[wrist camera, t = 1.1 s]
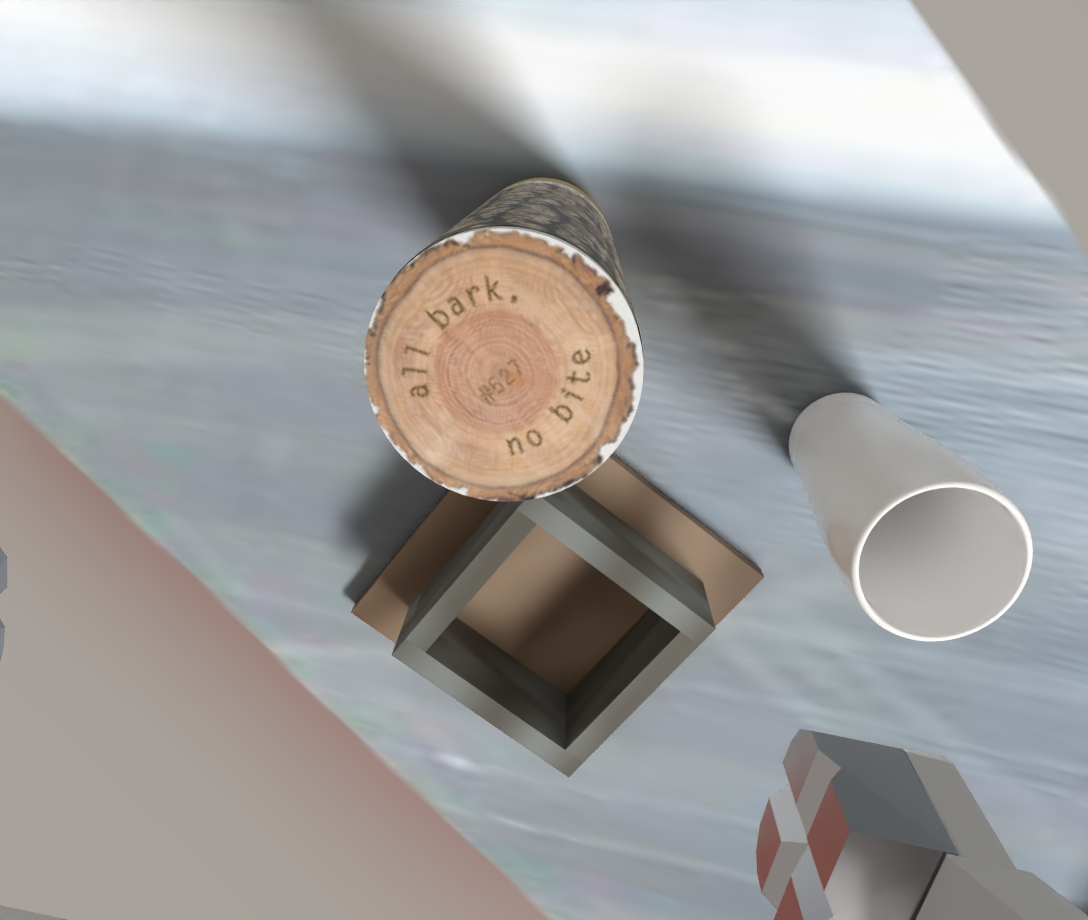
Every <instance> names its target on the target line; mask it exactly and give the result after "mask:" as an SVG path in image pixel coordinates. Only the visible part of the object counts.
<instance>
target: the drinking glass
mask: <svg viewBox="0 0 1088 920" xmlns="http://www.w3.org/2000/svg"><path fill="white" fill-rule="evenodd" d="M789 454H790V459H791V462H792V464H793V467H794V469H795V470H796V472H797V474H798V475H799V477H800V479H801V482H802V484H803V487H804V489H805V492H806V495H807V497H808V500H809V503H810V505H811V508H812V511H813V514H814V516H815V519H816V522H817V525H818V528H819V530H820V533H821V536H822V538H823V541H824V543H825V546H826V548H827V551H828V553H829V555H830V557H831V559H832V561H833V563H834V565H835V567H836V569H837V570H838V572H839V574H840V576H841V577H842V579H843V581H844V582H845V584H846V585H847V587H848V588H849V590H850V591H851V593H852V594H853V596H854V597H855V598H856V600H857V601H858V602H859V604H860V605H861V607H862V608H863V610H864V611H865V612H866V613H867V615H868V616H869V617H870V618H871V619H872V620H873V621H875V622H876V623H877V624H878V625H880V626H881V627H883V628H884V629H886V630H888V631H889V632H892V633H894V634H896V635H899V636H902V637H905V638H909V639H913V640H919V641H944V640H950V639H955V638H959V637H963V636H966V635H968V634H971V633H974V632H976V631H978V630H980V629H982V628H984V627H985V626H987V625H989V624H990V623H992V622H993V621H995V620H996V619H997V618H998V617H1000V616H1001V615H1002V614H1003V613H1004V612H1005V611H1006V610H1007V609H1008V608H1009V607H1010V606H1011V605H1012V604H1013V603H1014V601H1015V600H1016V599H1017V597H1018V596H1019V594H1020V593H1021V591H1022V589H1023V587H1024V585H1025V583H1026V581H1027V578H1028V576H1029V573H1030V569H1031V564H1032V557H1033V547H1032V539H1031V534H1030V531H1029V528H1028V525H1027V523H1026V521H1025V519H1024V517H1023V515H1022V514H1021V512H1020V511H1019V509H1018V508H1017V507H1016V506H1015V504H1014V503H1013V502H1012V501H1011V500H1009V499H1008V497H1007V496H1006V495H1005V494H1004V493H1003V492H1002V491H1001V490H1000V489H999V488H998V487H997V486H996V485H995V484H994V483H993V482H992V481H991V480H990V479H989V478H987V477H986V476H985V475H984V474H983V473H982V472H981V471H979V470H978V469H977V468H976V467H975V466H973V465H972V464H971V463H969V462H968V461H967V460H965V459H964V458H963V457H961V456H960V455H958V454H957V453H955V452H954V451H952V450H950V449H949V448H947V447H946V446H944V445H942V444H941V443H939V442H937V441H936V440H934V439H932V438H930V437H929V436H927V435H925V434H924V433H922V432H920V431H919V430H917V429H915V428H914V427H912V426H910V425H908V424H907V423H905V422H903V421H902V420H900V419H899V418H897V417H895V416H894V415H892V414H891V413H889V412H887V411H886V410H885V409H884V408H883V407H882V406H881V405H879V404H878V403H877V402H875V401H874V400H872V399H870V398H868V397H866V396H863V395H860V394H856V393H835V394H831V395H827V396H824V397H822V398H820V399H818V400H816V401H815V402H813V403H812V404H810V405H809V406H808V407H807V408H806V409H804V410H803V412H802V413H801V414H800V415H799V417H798V418H797V419H796V421H795V423H794V425H793V427H792V430H791V433H790V437H789Z"/></svg>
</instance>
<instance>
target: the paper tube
mask: <svg viewBox="0 0 1088 920" xmlns="http://www.w3.org/2000/svg"><path fill="white" fill-rule="evenodd" d="M364 371H365V380H366V387H367V391H368V396H369V399H370V402H371V405H372V408H373V411H374V414H375V416H376V418H377V420H378V423H379V425H380V426H381V428H382V430H383V431H384V433H385V435H386V437H387V438H388V439H389V441H390V442H391V444H392V445H393V446H394V448H395V449H396V450H397V451H398V452H399V453H400V454H401V456H402V457H403V458H404V459H405V460H406V461H407V462H408V463H410V464H411V465H412V466H413V467H414V468H415V469H416V470H418V471H419V472H420V473H422V474H423V475H424V476H426V477H427V478H429V479H431V480H432V481H434V482H435V483H437V484H439V485H441V486H443V487H445V488H447V489H449V490H452V491H454V492H457V493H460V494H462V495H466V496H469V497H473V498H477V499H483V500H489V501H502V502H509V501H524V500H532V499H536V498H540V497H545V496H548V495H551V494H554V493H557V492H560V491H562V490H564V489H566V488H568V487H571V486H572V485H574V484H576V483H578V482H579V481H581V480H583V479H584V478H586V477H587V476H588V475H590V474H591V473H592V472H594V471H595V470H596V469H597V468H598V467H599V466H601V465H602V464H603V463H604V462H605V461H606V460H607V459H608V458H609V456H610V455H611V454H612V453H613V452H614V451H615V449H616V448H617V447H618V445H619V444H620V443H621V441H622V440H623V438H624V436H625V434H626V433H627V431H628V429H629V427H630V425H631V423H632V421H633V418H634V416H635V413H636V410H637V407H638V404H639V400H640V395H641V390H642V383H643V349H642V341H641V336H640V332H639V328H638V324H637V321H636V317H635V314H634V310H633V307H632V304H631V300H630V297H629V293H628V290H627V286H626V283H625V280H624V276H623V273H622V269H621V266H620V263H619V259H618V256H617V252H616V249H615V245H614V242H613V239H612V235H611V232H610V230H609V227H608V224H607V221H606V219H605V217H604V215H603V213H602V212H601V210H600V208H599V207H598V206H597V204H596V203H595V202H594V201H593V200H592V199H591V198H590V197H589V196H588V195H587V194H586V193H585V192H583V191H582V190H580V189H579V188H577V187H576V186H574V185H572V184H570V183H567V182H565V181H561V180H558V179H553V178H531V179H526V180H522V181H519V182H516V183H514V184H512V185H510V186H508V187H506V188H505V189H503V190H502V191H500V192H499V193H498V194H496V195H495V196H493V197H491V198H490V199H489V200H487V201H486V202H485V203H484V204H482V205H481V206H480V207H478V208H477V209H476V210H474V211H473V212H472V213H470V214H469V215H468V216H467V217H465V218H464V219H463V220H461V221H460V222H459V223H457V224H456V225H455V226H453V227H452V228H451V229H450V230H448V231H447V232H446V233H444V234H443V235H442V236H440V237H439V238H438V239H436V240H435V241H434V242H433V243H431V244H430V245H429V246H427V247H426V248H425V249H423V250H422V251H421V252H420V253H418V254H417V255H416V256H415V257H414V258H412V259H411V260H410V261H409V262H408V263H407V264H406V265H405V266H404V267H403V268H402V269H401V270H400V271H399V272H398V274H397V275H396V276H395V278H394V279H393V280H392V281H391V283H390V284H389V286H388V287H387V288H386V290H385V292H384V293H383V295H382V297H381V298H380V300H379V302H378V304H377V306H376V309H375V311H374V313H373V316H372V319H371V322H370V325H369V328H368V333H367V337H366V343H365V353H364Z"/></svg>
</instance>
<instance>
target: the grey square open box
mask: <svg viewBox="0 0 1088 920" xmlns="http://www.w3.org/2000/svg"><path fill="white" fill-rule="evenodd" d="M763 578H764V576H763V573H762V571H761V569H760V568H759V567H757V566H756V565H755V564H754V563H752V562H751V561H750V560H748V559H747V558H746V557H745V556H743V555H742V554H741V553H739V552H738V551H737V550H736V549H734V548H733V547H732V546H730V545H729V544H728V543H727V542H725V541H724V540H723V539H721V538H720V537H719V536H718V535H716V534H715V533H714V532H712V531H711V530H710V529H709V528H707V527H706V526H705V525H703V524H702V523H701V522H700V521H698V520H697V519H696V518H694V517H693V516H692V515H691V514H689V513H688V512H687V511H685V510H684V509H683V508H682V507H680V506H679V505H678V504H676V503H675V502H674V501H673V500H671V499H670V498H669V497H667V496H666V495H665V494H664V493H662V492H661V491H660V490H658V489H657V488H656V487H655V486H653V485H652V484H651V483H649V482H648V481H647V480H646V479H644V478H643V477H642V476H640V475H639V474H638V473H637V472H635V471H634V470H633V469H631V468H630V467H629V466H628V465H626V464H625V463H624V462H622V461H621V460H620V459H619V458H617V457H616V456H615V455H613V454H611V455H610V456H609V458H608V459H607V460H606V461H605V462H604V463H603V464H602V465H601V466H599V467H598V468H597V469H596V470H595V471H594V472H592V473H591V474H590V475H588V476H587V477H586V478H584V479H583V480H581V481H579V482H578V483H576V484H574V485H572V486H571V487H568V488H566V489H564V490H562V491H560V492H557V493H554V494H551V495H548V496H545V497H540V498H536V499H532V500H524V501H509V502H502V501H489V500H483V499H477V498H473V497H469V496H466V495H462V494H460V493H457V492H454V491H452V490H448V492H447V493H446V494H445V495H444V496H443V498H442V499H441V500H440V501H439V502H438V504H437V505H436V506H435V507H434V509H433V510H432V511H431V512H430V513H429V515H428V516H427V517H426V518H425V519H424V521H423V522H422V523H421V524H420V526H419V527H418V528H417V529H416V530H415V532H414V533H413V534H412V535H411V537H410V538H409V539H408V540H407V541H406V543H405V544H404V545H403V546H402V547H401V549H400V550H399V551H398V552H397V554H396V555H395V556H394V557H393V558H392V560H391V561H390V562H389V563H388V564H387V566H386V567H385V568H384V569H383V571H382V572H381V573H380V574H379V575H378V577H377V578H376V579H375V580H374V581H373V583H372V584H371V585H370V586H369V588H368V589H367V590H366V591H365V592H364V594H363V595H362V596H361V597H360V599H359V600H358V601H357V602H356V603H355V605H354V607H353V609H352V611H351V613H353V614H354V615H356V616H357V617H358V618H360V619H361V620H363V621H364V622H366V623H367V624H369V625H370V626H371V627H373V628H374V629H376V630H377V631H379V632H380V633H382V634H383V635H384V636H386V637H387V638H389V639H390V640H392V641H393V642H394V643H396V645H395V647H394V650H393V653H392V656H394V657H395V658H397V659H398V660H400V661H401V662H402V663H404V664H405V665H407V666H408V667H410V668H411V669H413V670H414V671H415V672H417V673H418V674H420V675H421V676H423V677H424V678H426V679H427V680H428V681H430V682H431V683H433V684H434V685H436V686H437V687H439V688H440V689H442V690H443V691H444V692H446V693H447V694H449V695H450V696H452V697H453V698H455V699H456V700H457V701H459V702H460V703H462V704H463V705H465V706H466V707H468V708H469V709H470V710H472V711H473V712H475V713H476V714H478V715H479V716H481V717H482V718H483V719H485V720H486V721H488V722H489V723H491V724H492V725H494V726H495V727H497V728H498V729H499V730H501V731H502V732H504V733H505V734H507V735H508V736H510V737H511V738H512V739H514V740H515V741H517V742H518V743H520V744H521V745H523V746H524V747H525V748H527V749H528V750H530V751H531V752H533V753H534V754H536V755H537V756H538V757H540V758H541V759H543V760H544V761H546V762H547V763H549V764H550V765H551V766H553V767H554V768H556V769H557V770H559V771H560V772H562V773H563V774H565V775H566V776H567V777H570V776H571V775H572V774H573V773H574V772H575V771H576V769H577V768H578V767H579V766H580V765H581V764H582V763H583V762H584V761H585V760H586V759H587V758H588V757H589V756H590V755H591V754H592V753H593V752H594V751H595V750H596V749H597V748H598V747H599V746H600V745H601V744H602V743H603V742H604V741H605V740H606V739H607V738H608V737H609V736H610V735H611V734H612V733H613V732H614V731H615V730H616V729H617V728H618V727H619V726H620V725H621V724H622V723H623V722H624V721H625V720H626V719H627V718H628V717H629V716H630V715H631V714H632V713H633V712H634V711H635V710H636V709H637V708H638V707H639V706H640V705H641V704H642V703H643V702H644V701H645V700H646V699H647V698H648V697H649V696H650V695H651V694H652V693H653V692H654V691H655V690H656V689H657V688H658V687H659V686H660V684H661V683H662V682H663V681H664V680H665V679H666V678H667V677H668V676H669V675H670V674H671V673H672V672H673V671H674V670H675V669H676V668H677V667H678V666H679V665H680V664H681V663H682V662H683V661H684V660H685V659H686V658H687V657H688V656H689V655H690V654H691V653H692V652H693V651H694V650H695V649H696V648H697V647H698V646H699V645H700V644H701V643H702V642H703V641H704V640H705V639H706V638H707V637H708V636H709V635H710V634H711V633H712V632H713V631H714V630H715V629H716V628H715V626H716V625H717V624H718V623H719V622H720V621H721V620H722V619H723V618H724V617H725V616H726V615H727V614H728V613H729V612H730V611H731V610H732V609H733V608H734V607H735V606H736V605H737V604H738V603H739V602H740V601H741V600H742V599H743V598H744V597H745V596H746V595H747V594H748V593H749V592H750V591H751V590H752V589H753V588H754V587H755V586H756V585H757V584H758V583H759V582H760V581H761V580H762V579H763Z"/></svg>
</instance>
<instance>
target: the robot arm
mask: <svg viewBox="0 0 1088 920" xmlns="http://www.w3.org/2000/svg"><path fill="white" fill-rule="evenodd" d="M6 587H7V556H6V555H5V554H4V552H3V551H2V549H1V548H0V593H1V592H2V591H3V590H4V589H6ZM4 632H5V626H4V624H3V623H2V621H1V620H0V659H1V655H2V652H3V647H4ZM783 764H784V768H785V771H786V774H787V777H788V781H789V784H788V785H787V786H786V787H784V788H783V789H781V790H780V791H778V792H777V793H775V794H774V795H772V796H771V797H769V800H768V803H767V805H766V808H765V811H764V814H763V817H762V820H761V823H760V828H759V835H758V842H757V849H756V860H757V875H758V879H759V884H760V888H761V893H762V894H763V895H764V896H765V897H766V898H767V899H768V900H769V901H770V903H771V904H772V905H773V906H774V907H775V908H776V909H777V912H776V915H775V917H774V920H1088V915H1086V914H1085V913H1084V912H1082V911H1081V910H1080V909H1079V908H1077V907H1076V906H1075V905H1073V904H1072V903H1071V902H1069V901H1068V900H1067V899H1066V898H1064V897H1063V896H1062V895H1060V894H1059V893H1058V892H1056V891H1055V890H1054V889H1053V888H1051V887H1050V886H1049V885H1047V884H1046V883H1045V882H1043V881H1042V880H1041V879H1040V878H1038V877H1037V876H1036V875H1034V874H1033V873H1030V872H1026V871H1022V870H1018V869H1016V867H1015V866H1014V864H1013V862H1012V861H1011V859H1010V857H1009V856H1008V854H1007V852H1006V851H1005V849H1004V847H1003V846H1002V844H1001V842H1000V841H999V839H998V837H997V836H996V834H995V832H994V831H993V829H992V827H991V826H990V824H989V822H988V821H987V819H986V817H985V815H984V814H983V812H982V810H981V809H980V807H979V805H978V804H977V802H976V800H975V799H974V797H973V795H972V794H971V792H970V790H969V789H968V787H967V785H966V784H965V782H964V780H963V779H962V777H961V775H960V774H959V772H958V770H957V769H956V767H955V765H954V764H953V763H952V762H950V761H949V760H947V759H946V758H944V757H943V756H937V755H932V754H927V753H921V752H916V751H910V750H905V749H900V748H895V747H890V746H885V745H880V744H875V743H870V742H865V741H860V740H855V739H850V738H845V737H840V736H835V735H830V734H825V733H820V732H815V731H810V730H802V729H800V730H799V731H798V733H797V734H796V735H795V737H794V738H793V740H792V741H791V743H790V745H789V748H788V750H787V753H786V755H785V758H784V760H783ZM0 920H67V919H61V918H57V917H52V916H48V915H43V914H38V913H33V912H29V911H24V910H20V909H15V908H10V907H5V906H1V905H0Z"/></svg>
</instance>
